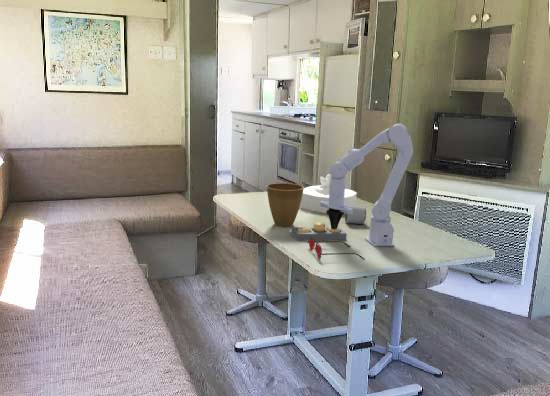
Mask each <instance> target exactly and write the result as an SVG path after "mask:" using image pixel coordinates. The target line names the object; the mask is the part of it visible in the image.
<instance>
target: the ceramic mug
mask: <svg viewBox="0 0 550 396" xmlns="http://www.w3.org/2000/svg"><path fill="white" fill-rule="evenodd" d="M347 207H349V208H352V209H353V213H352V214H347V213H344V223H345V224H356V225H357V224H358V225H362V224H364V223H365V222H366V219H367V209H366V208H365V207H363V206H358V205H357V206H351V205H347Z"/></svg>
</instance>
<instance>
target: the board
mask: <svg viewBox="0 0 550 396" xmlns="http://www.w3.org/2000/svg"><path fill="white" fill-rule="evenodd" d="M300 227H301V226H299V227H298V226H297V227H296V226H295V227H294V226H291V229H289V232H290V233H291V235H293V237H294V238H295V239H296V240H297V241H309V240H310V238H311V237H312V238H313V239H314V240H315V241H339V240H340V241H341V240H346V241H347V235H348V233H347V232H346V231H345V230H343V229H342V228H341V227H340V226H338V227H337V228H340V232H329V231H328V228H329V227H330V226H325V232H314V231H313V226H305V227H306V228H309V229H310V232H301V233H299V232H298V228H300ZM312 238H311V239H312Z"/></svg>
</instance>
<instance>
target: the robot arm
mask: <svg viewBox="0 0 550 396" xmlns="http://www.w3.org/2000/svg"><path fill="white" fill-rule="evenodd" d="M390 142H392V143H393V145H395V147H396V149H397V152H398V155H397V157H396V160H395V163H394V165H393V168H392V169H391V172H390V174H389V176H388V178H387V180H386V184H385V185H384V188H383V190H382V193H381V195H380V197H379V198H378V199H377V200H376V201H375V203H374V205H373V207H372V209H371V214H372V215H371V216H370V225H369V235H368V236H367V237H365V238H364V239H365V240H366V241H367V242H369V243H370V244H371V245H372V246H374V247H391V246H392V247H393V246H395V243H394V242H393V239H394V231H395V229H394V227H393V225H392V223H391V219H392V218H391V216H390V213H391V211H392V210H391V209H392V202H393V200H394V198H395V195H396V193H397V191H398V189H399V186H400V184H401V181H402V180H403V177H404V175H405V173H406V170H407V167H408V165H409V163H410V161H411V159H412V157H413V154H414V147H413V143H412V142H413V141H412V138H411V133H410V131H409V130H408V128H407V127H406V125H404V124H403V123H395V124H393V125H392V126H391V127H388V128H386V129H384V130H383V131H381V132H379V133H378V134H377V135H375V136H374V137H373V138H372V139H371V140H369V141H368V142H367V143H366V144H364V145H363V146H362V147H360V148H353V149H349V150H348V151H347V154H345V155H344V156H342V157H340V158H338V159H337V162H334V163H333V164H332V165H331V167H330V169H329V174H330V175H331V181H330V190H329V202H324V201H322V202H320V207H325V208H329V209H328V210H327V211H326V213H325V214H327V217H328V219H329V224H330V227H331V229H337V227H339V224H340V221H341V219H342V218H343V216H345V213H347V214H352V213H353V209H352V208H349V207H347V206H344V195H345V189H346V175H347V173H348V172H351V171H352V170H354V169H355V168H356V167H358V166H359V165H361V163H363V162H364V159H365V156H366V155H368V154H369V153H371V152H372V151H374V150H375V149H376V148H378V147H380V146H381V145H382V144H390Z"/></svg>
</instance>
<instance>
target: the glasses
mask: <svg viewBox="0 0 550 396" xmlns="http://www.w3.org/2000/svg"><path fill="white" fill-rule="evenodd" d="M311 238H312V237H311ZM311 238H310V240H306V243H307V244H308V246H309V250H310V251H313V250H315V252H316V253H315V254H316V255H317V258H318V261H319V260H321V259H322V256H327V255H328V256H330V255H331V256H332V255H334V256H335V255H356V256H358V257H359V258H360V259H362V260H364V261H365V260H366V258H364V257H363V256H362V255H360V254H358V253H356V252H340V253H339V252H338V253H337V252H336V253H335V252H334V253H333V252H332V253H327V252H326V253H323V248H322V246H321V245H320V244H321V243H343V244H344V245H345V246H347V247H348V248H351V245H349V244H348V243H346V241H345V242H344V241H341V240H340V241H339V240H314V239H313V238H312V239H311ZM319 243H320V244H319Z"/></svg>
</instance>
